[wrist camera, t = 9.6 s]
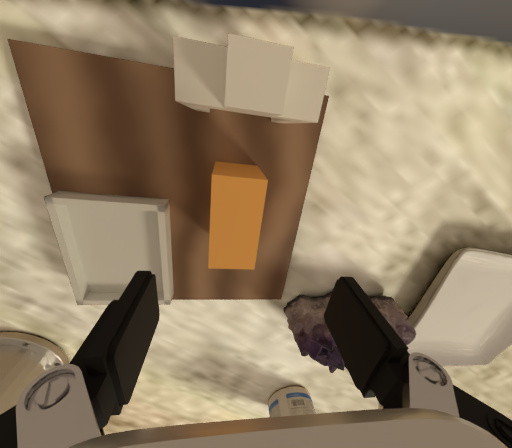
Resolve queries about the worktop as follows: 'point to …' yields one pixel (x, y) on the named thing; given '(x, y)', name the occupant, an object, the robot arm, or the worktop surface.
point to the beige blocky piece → (248, 79)
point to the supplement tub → (290, 402)
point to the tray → (112, 243)
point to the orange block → (235, 215)
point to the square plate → (466, 310)
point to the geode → (319, 337)
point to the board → (166, 157)
